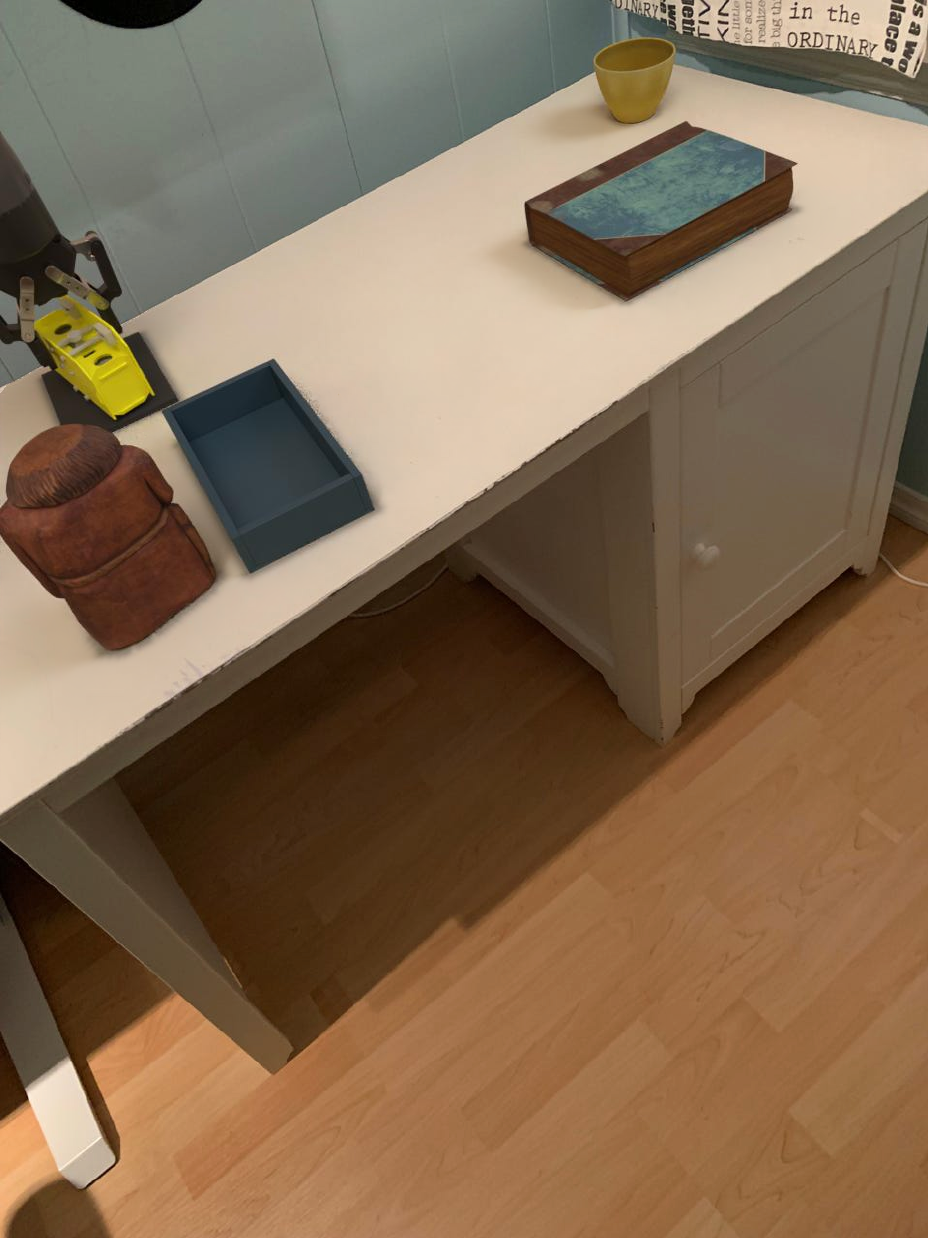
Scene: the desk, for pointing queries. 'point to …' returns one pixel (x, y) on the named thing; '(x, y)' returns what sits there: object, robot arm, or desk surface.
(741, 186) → the book
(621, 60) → the flower pot
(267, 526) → the bin
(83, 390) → the yellow toy chassis
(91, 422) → the mat
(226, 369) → the desk surface
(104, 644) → the wooden figurine
